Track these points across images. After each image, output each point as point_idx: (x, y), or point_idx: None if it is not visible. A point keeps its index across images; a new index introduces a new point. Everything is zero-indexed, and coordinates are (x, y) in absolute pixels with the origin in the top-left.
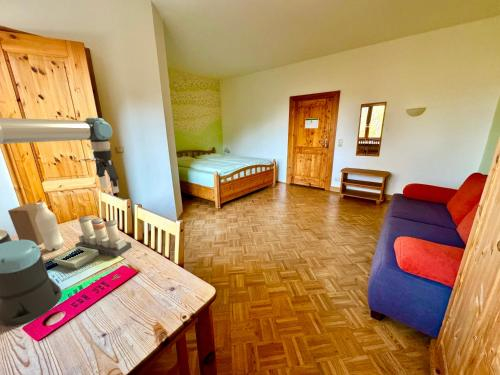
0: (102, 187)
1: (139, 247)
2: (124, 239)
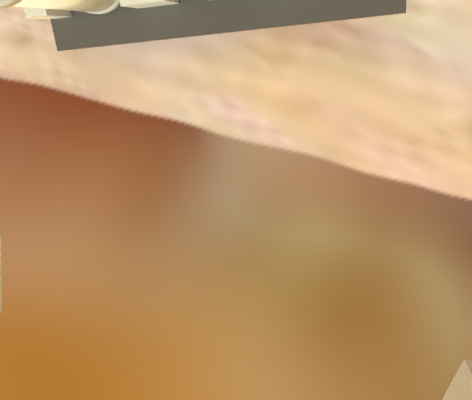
0: (470, 393)
1: (39, 67)
2: (25, 10)
